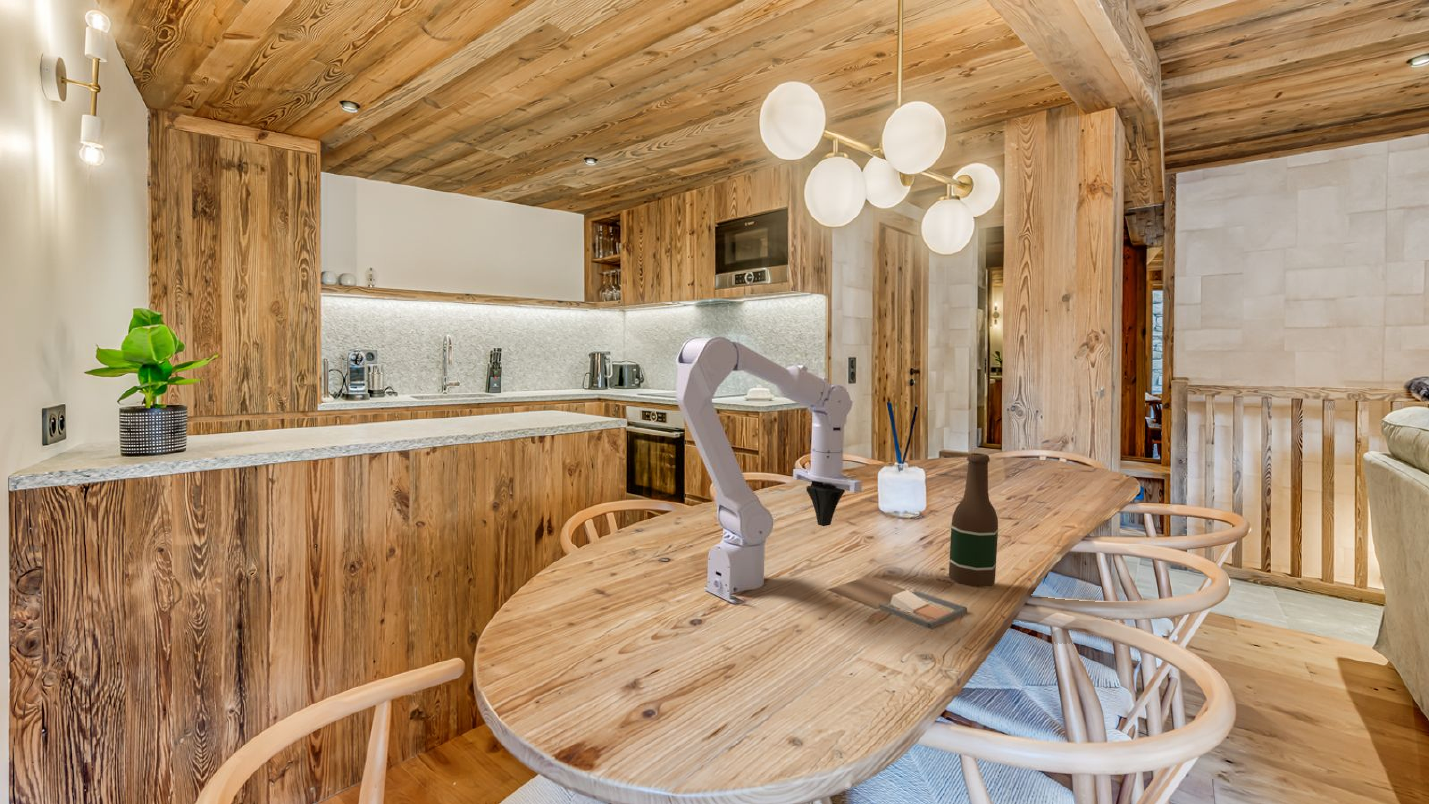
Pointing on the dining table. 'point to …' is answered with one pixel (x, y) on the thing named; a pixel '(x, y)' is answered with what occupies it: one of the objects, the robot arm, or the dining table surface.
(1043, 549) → the dining table surface
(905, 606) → the offwhite tile
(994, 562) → the beer bottle
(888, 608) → the tray
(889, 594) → the walnut board
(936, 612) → the terracotta tile
